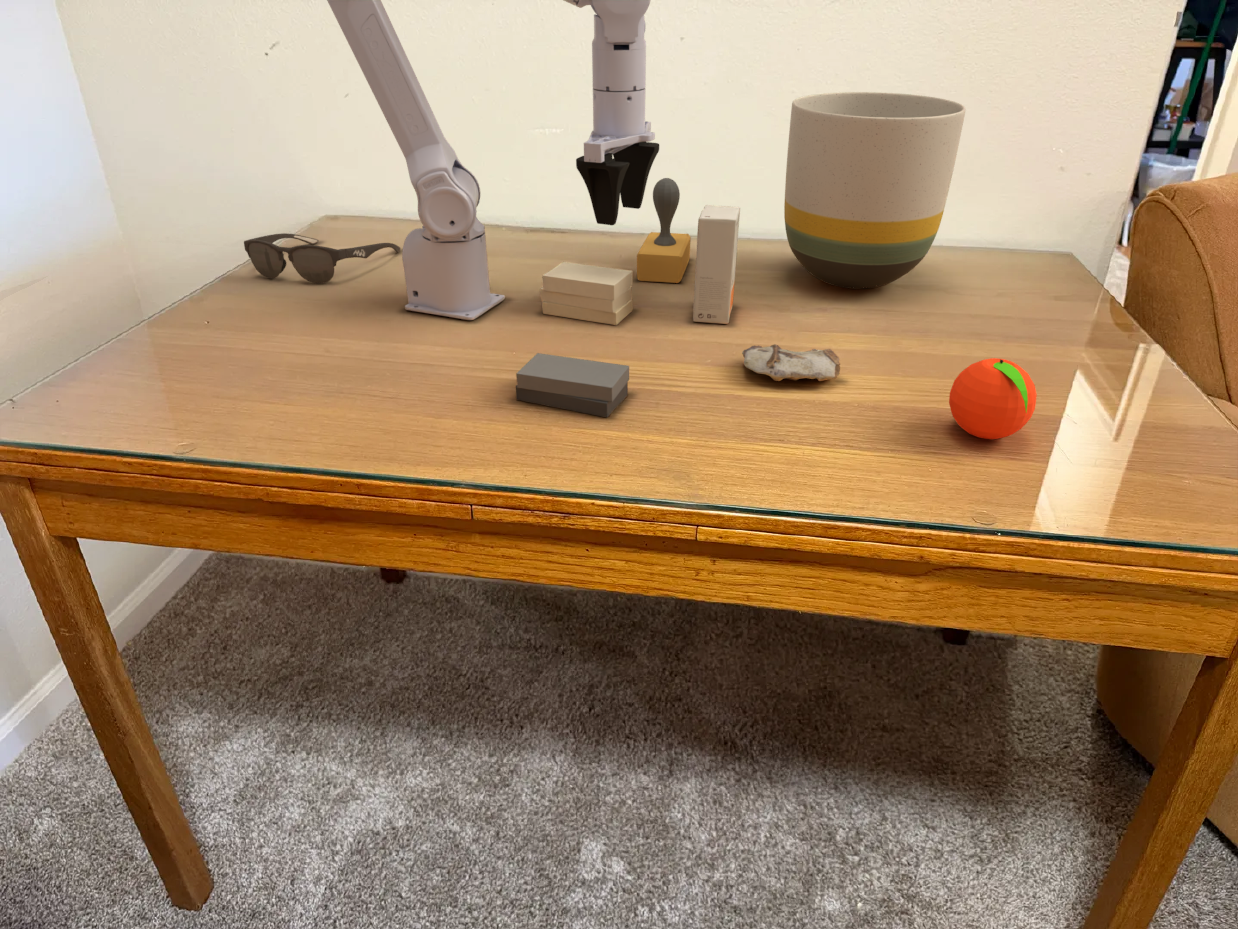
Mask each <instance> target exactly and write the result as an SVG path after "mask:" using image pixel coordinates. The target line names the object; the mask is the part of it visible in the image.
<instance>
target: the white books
mask: <svg viewBox="0 0 1238 929" xmlns="http://www.w3.org/2000/svg"><path fill="white" fill-rule="evenodd" d="M539 293H540V294H539V295H540V302H541V307H542V308H541V309H542V314H543V315H548V316H556V317H563V318H568V319H574V320H580V321H588V322H594V323H599V324H606V325H611V326H612V325H613V326H617V325H618V324H620V322H622V321H623V320H624V319H625V318H627V316H628V315H630V313H632V312H633V308H634V307H633V306H634V305H633V303H634V302H633V301H634V300H633V298H632V286H631V287H630V288H629V289H628V290H626V291H625V292H624V293H623V294H622V295H620V296H619V297H618V298H617V299H615V300H614V301H613V300H606V299H600V298H593V297H586V296H579V295H572V294H565V293H558V292H552V291H545V290H543V286H542V287H540V288H539Z"/></svg>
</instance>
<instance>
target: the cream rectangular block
mask: <svg viewBox="0 0 1238 929" xmlns="http://www.w3.org/2000/svg"><path fill="white" fill-rule="evenodd" d="M542 287H543V290H545V291H552V292H558V293H565V294H572V295H579V296H586V297H593V298H600V299H606V300H613V301H614V300H615V299H617V298H618V297H619V296H620V295H622V294H623V293H624V292H625V291H626V290H628V289H629V288H630V287H631V288H632V287H633V270H630V269H629V270H628V269H623V268H614V267H608V266H598V265H591V264H584V263H576V262H569V261H562V262H561V263H559V264H558V265H556V266H554V267H553V268H552V269H550V270H548V271H547V272H545V273H544V274H542Z"/></svg>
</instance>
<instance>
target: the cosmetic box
mask: <svg viewBox="0 0 1238 929" xmlns="http://www.w3.org/2000/svg"><path fill="white" fill-rule="evenodd" d="M740 215H741V207H740V206H731V205H730V206H728V205H714V204H713V205H712V204H705V205H704V207H703V209H702V210H701V212H700V215H699V217H698V219H697V220H698V221H697V233H696V236H697V237H696V256H695V257H696V258H695V274H694V290H693V293H694V294H693V307H692V308H693V311H692V321H693V322H695V323H709V324H720V325H721V324H722V325H728V324H729V322H730V317H731V313H732V309H733V306H734V296H735V294H734V293H735V282H736V270H737V256H738V243H739V232H740V229H739V228H740Z"/></svg>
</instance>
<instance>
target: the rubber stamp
mask: <svg viewBox="0 0 1238 929" xmlns="http://www.w3.org/2000/svg"><path fill="white" fill-rule="evenodd" d="M680 196H681V193H680V189H679V186H678V184H677V182H676V181H675V180H674V179H672V178H670V177H663V178H660V179H659V180H658V181H657V182H656V183H655V184H654V187H653V191H652V201H653V205H654V208H655V212H656V214H657V218H658V221H659V226H660V232H659V231H658V232H656V231H655V232H654V231H651V232H649V233H648V235H647V237H646V238H645V240H644V242H643V243H642V245H641V247H640V249H639V250H638V252H637V254H636V278H637V280H638V281H641V282H658V283H672V284H673V283H674V284H675V283H676V284H678V283H680V282H681V281H682V279H683V276H684V275H685V271H686V269H687V267H688V264H689V262H690V260H691V242H692V241H691V240H692V239H691V238H692V236H690V234H689V233H679V232H671V226H672V222H673V219H674V216H675V214H676V211H677V209H678V207H679V203H680V199H681V198H680Z"/></svg>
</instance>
